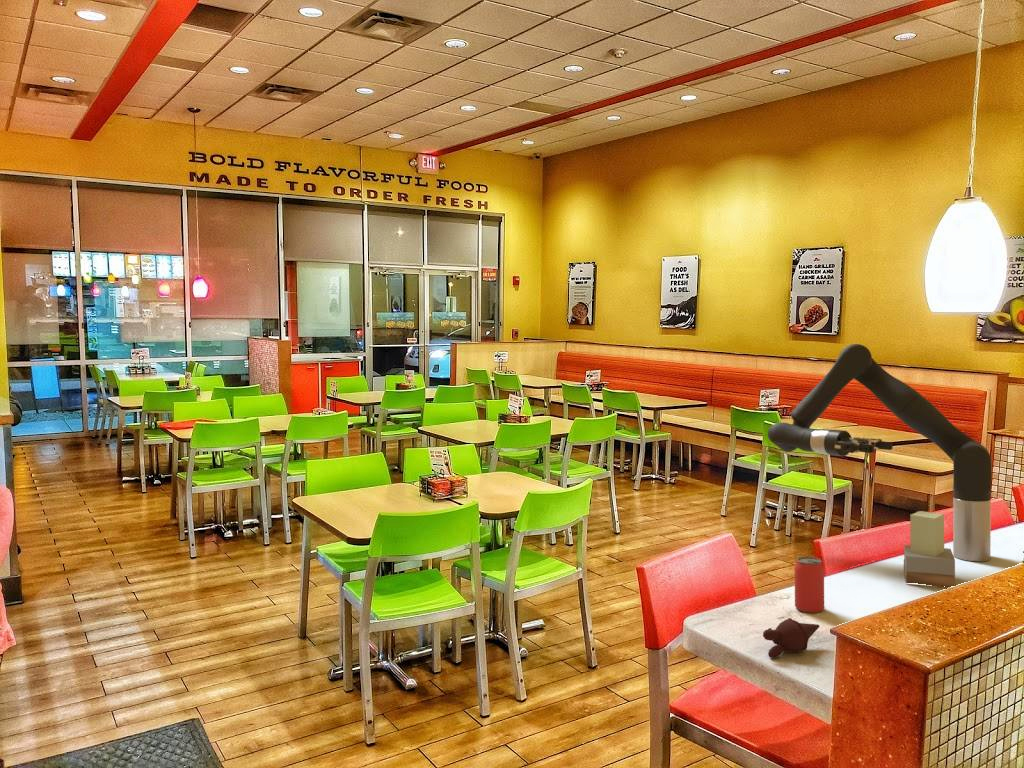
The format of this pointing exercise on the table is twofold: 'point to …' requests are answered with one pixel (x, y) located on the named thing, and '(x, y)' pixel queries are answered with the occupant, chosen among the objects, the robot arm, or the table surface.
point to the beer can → (809, 585)
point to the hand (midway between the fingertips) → (882, 447)
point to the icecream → (789, 637)
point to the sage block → (927, 533)
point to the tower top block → (929, 562)
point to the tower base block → (929, 578)
